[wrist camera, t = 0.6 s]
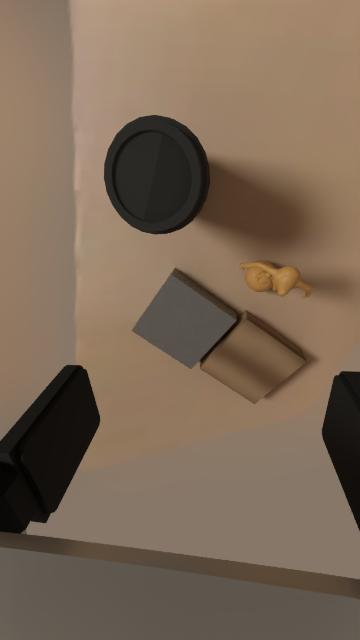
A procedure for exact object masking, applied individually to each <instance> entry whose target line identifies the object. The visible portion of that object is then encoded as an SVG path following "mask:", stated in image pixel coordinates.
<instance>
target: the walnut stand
mask: <svg viewBox="0 0 360 640" xmlns="http://www.w3.org/2000/svg"><path fill="white" fill-rule="evenodd" d="M306 362H307V361H306V359H305V357H304V355H303V352H302V350H301V349H299V348H298V347H296V346H295V345H294V344H292V343H291V342H289V341H288V340H287V339H285V338H284V337H282V336H281V335H280V334H278V333H277V332H275V331H274V330H273V329H271V328H270V327H268V326H267V325H266V324H264V323H263V322H261V321H260V320H259V319H257V318H256V317H254V316H253V315H252V314H250V313H249V312H247V311H246V310H245V311H244V312H243V313H242V314H241V316H240V317H239V318H238V319H237V321H236V322H235V323H234V324H233V325H232V326H231V327H230V328H229V329H228V330H227V331H226V332H225V333H224V334H223V336H222V337H221V338H220V339H219V340H218V341H217V342H216V343H215V344H214V345H213V346H212V347H211V348H210V349H209V351H208V352H207V353H206V354H205V355H204V356H203V357H202V358H201V364H200V369H201V370H203V371H204V372H206V373H208V374H209V375H211V376H212V377H214V378H215V379H217V380H218V381H220V382H221V383H223V384H224V385H226V386H227V387H229V388H231V389H232V390H234V391H235V392H237V393H238V394H240V395H241V396H243V397H244V398H246V399H247V400H249V401H251V402H252V403H254V404H255V403H257V402H258V401H259V400H260V399H262V398H263V397H264V396H265V395H266V394H268V393H269V392H270V391H271V390H273V389H274V388H275V387H276V386H278V385H279V384H280V383H281V382H282V381H284V380H285V379H286V378H287V377H289V376H290V375H291V374H292V373H294V372H295V371H296V370H297V369H298V368H300V367H301V366H302V365H303V364H305V363H306Z"/></svg>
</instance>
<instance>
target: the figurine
mask: <svg viewBox="0 0 360 640" xmlns="http://www.w3.org/2000/svg"><path fill="white" fill-rule="evenodd" d="M240 265H241V266H239V267H241V268H240V269H242V268H243V270H244V267H247V268H248V269H247V271H246V275H245V279H246V283H247V285H248V286H249V287H250V288H251V289H252V290H254V291H257V292H264V291H267V290H269V289H271V288H272V287H273V290H274V291H277V290H278V294H279V295H281V296H284V295H286V294H287V293H288V292H289V291H290V290H291V289H293V288H301V289H304V290H307V291H306V295H305V296H303V297H301V298H305V297H308V296H309V295H310V294H311V292H312V291H313V287H311V286H310V285H308V284H306V283H304V282H303V281H302V280H301V279H300V273H299V271H298V269H297V268H295V267H293V266H285V267H283V268H280V269H276V268H275V267H274V266H273V265H272V264H271V263H269V262H267V261H257V262H254V263H247V264H243V263H241V264H240Z"/></svg>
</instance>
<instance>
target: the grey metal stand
mask: <svg viewBox="0 0 360 640" xmlns="http://www.w3.org/2000/svg"><path fill="white" fill-rule="evenodd" d="M236 321H237V318H236V311H235V310H233V309H232V308H231V307H229V306H228V305H226V304H225V303H224V302H222V301H221V300H219V299H218V298H217V297H215V296H214V295H212V294H211V293H210V292H208V291H207V290H205V289H204V288H202V287H201V286H200V285H198V284H197V283H195V282H194V281H193V280H191V279H190V278H188V277H187V276H186V275H184V274H183V273H181V272H180V271H179V270H177V269H176V268H175V269H174V270H173V272H172V273H171V274H170V276H169V277H168V279H167V280H166V282H165V283H164V284H163V286H162V287H161V289H160V290H159V292H158V293H157V294H156V296H155V297H154V299H153V300H152V302H151V303H150V305H149V306H148V307H147V309H146V310H145V312H144V313H143V315H142V316H141V317H140V319H139V320H138V322H137V323H136V325H135V327H134V328H133V330H132V331H133V332H134V333H136V334H138V335H139V336H141V337H142V338H144V339H145V340H147V341H148V342H150V343H151V344H153V345H155V346H156V347H158V348H159V349H161V350H162V351H164V352H165V353H167V354H168V355H170V356H172V357H173V358H175V359H176V360H178V361H179V362H181V363H182V364H184V365H185V366H187V367H189V368H190V369H192V368H193V367H194V365H195V364H196V363H197V362H198V361H199V360H200V359H201V358H202V357H203V356H204V355H205V354H206V353H207V352H208V351H209V349H210V348H211V347H212V346H213V345H214V344H215V343H216V342H217V341H218V340H219V339H220V338H221V337H222V336H223V334H224V333H225V332H226V331H227V330H228V329H229V328H230V327H231V326H232V325H233V324H234V323H235V322H236Z"/></svg>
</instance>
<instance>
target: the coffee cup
mask: <svg viewBox="0 0 360 640" xmlns="http://www.w3.org/2000/svg"><path fill="white" fill-rule="evenodd" d="M104 180H105V185H106V191H107V194H108V196H109V198H110V201H111V203H112V205H113V206H114V208H115V209H116V211H117V212H118V213H119V215H120V216H121V217H122V218H123V219H124V220H125V221H126V222H127V223H128V224H130V225H131V226H132V227H134V228H136V229H138V230H140V231H142V232H146V233H151V234H167V233H171V232H174V231H177V230H179V229H182V228H183V227H185V226H186V225H187V224H189V223H190V222H192V221H193V219H194V218H195V217H196V216H197V215H198V213H199V212H200V211H201V209H202V207H203V205H204V203H205V200H206V198H207V194H208V189H209V184H210V174H209V164H208V161H207V157H206V153H205V151H204V149H203V147H202V145H201V143H200V142H199V140H198V138H197V137H196V136H195V135H194V134H193V133H192V132H191V131H190V130H189V129H188V128H187V127H186V126H185V125H183V124H181V123H179V122H177V121H176V120H174V119H171V118H168V117H163V116H158V115H151V116H144V117H139V118H138V119H136V120H134V121H132V122H130V123H128V124H126V125H125V126H124V127H123V128H122V129H121V130H120V131H119V132H118V133H117V134H116V136H115V138H114V140H113V142H112V143H111V145H110V147H109V149H108V152H107V156H106V160H105V164H104Z"/></svg>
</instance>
